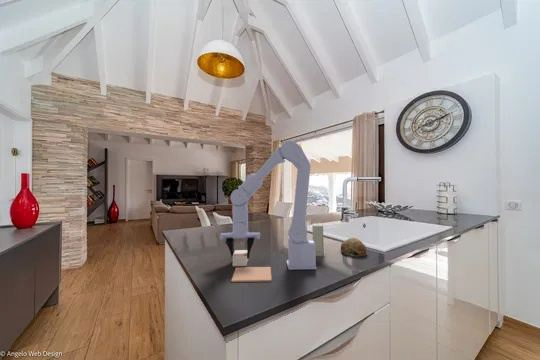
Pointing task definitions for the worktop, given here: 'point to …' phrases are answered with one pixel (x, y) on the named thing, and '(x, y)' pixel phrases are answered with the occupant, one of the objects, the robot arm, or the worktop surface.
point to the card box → (240, 258)
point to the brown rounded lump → (353, 247)
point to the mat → (252, 274)
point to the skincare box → (318, 239)
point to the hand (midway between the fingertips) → (240, 258)
